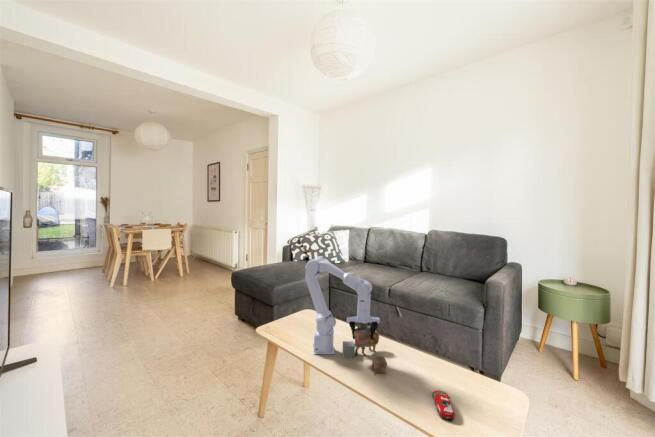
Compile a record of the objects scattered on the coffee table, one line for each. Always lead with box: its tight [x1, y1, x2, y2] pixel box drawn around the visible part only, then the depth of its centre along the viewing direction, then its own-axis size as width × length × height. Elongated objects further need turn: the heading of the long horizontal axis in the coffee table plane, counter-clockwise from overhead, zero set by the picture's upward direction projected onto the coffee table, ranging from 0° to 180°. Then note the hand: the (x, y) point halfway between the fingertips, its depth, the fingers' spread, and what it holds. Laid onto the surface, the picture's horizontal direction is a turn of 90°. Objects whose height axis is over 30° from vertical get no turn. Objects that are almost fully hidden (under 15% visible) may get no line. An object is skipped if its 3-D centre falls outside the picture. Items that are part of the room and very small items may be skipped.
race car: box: [432, 389, 455, 421], centre depth 100 cm, size 13×5×4 cm, turn 170°
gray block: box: [342, 340, 356, 358], centre depth 133 cm, size 5×5×5 cm
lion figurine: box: [354, 330, 380, 357], centre depth 135 cm, size 15×5×9 cm, turn 129°
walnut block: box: [371, 355, 388, 375], centre depth 121 cm, size 5×5×5 cm
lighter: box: [354, 323, 371, 349], centre depth 128 cm, size 8×3×10 cm, turn 118°
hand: (362, 338), depth 128 cm, fingers closed on lighter, 7 cm apart
